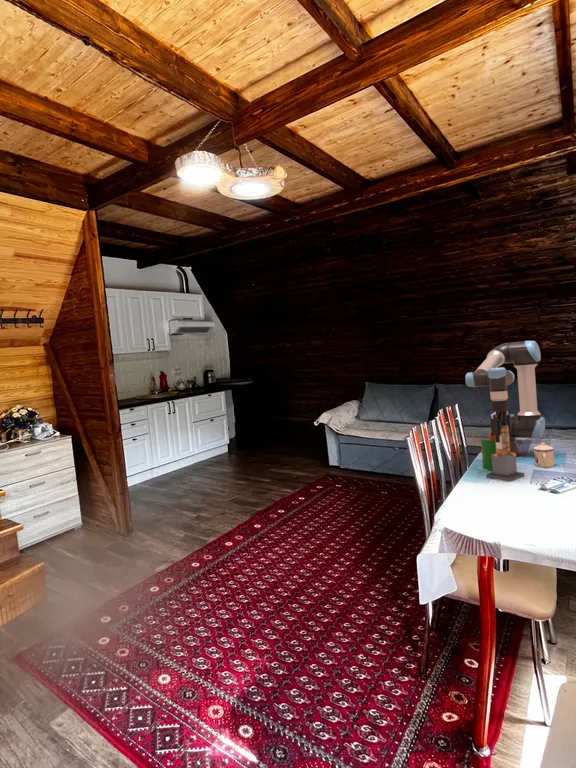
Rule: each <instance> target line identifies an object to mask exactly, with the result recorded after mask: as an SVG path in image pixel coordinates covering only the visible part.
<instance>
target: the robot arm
mask: <svg viewBox="0 0 576 768" xmlns="http://www.w3.org/2000/svg"><path fill="white" fill-rule="evenodd" d="M541 356H542V355H541V350H540V346H539V345H538V343H537V342H536V341H535V340H524V341H523V340H522V341H514V342H506V343H502V344H500V345H499V344H498V345H497V346H495V347H494V348H492V349H490V351H489V352H488V353H487V355H486V359H484V360H483V362H482V363H481V364H480V365H479V366H478V367H477V368H476V370H474V372H472V371H471V372H467V373H466V374H465V377H464V378H465V380H464V381H465V385H466V386H467V387H469V388H471V387H472V388H478V387H489V395H490V408H491V409H493V411H492V413H491V414H489V418H490V427H491V430H490V431H492V435H494V440H496V449H503V448H502V435H500V432H501V425H507V426H508V429H509V441H510V452H513V453H516V457H519V456H521V449H520V448H519V446H518V443H517V438H525V439H527V438H528V439H540V438H542V437H543V436H544V433H545V430H546V418H545V417H543V416H542V414H541V412H540V411H539V410H538V400H537V385H536V384H537V383H536V370H535V369H536V367H537V366H538V362H540V361H541V358H542V357H541ZM503 364H513V367H514V368H515V369H516V371H517V373H516V374H517V384H518V385H517V386H518V399H519V401H518V402H519V411H518V413H517V414H516V416H515V414H511V413H512V412H511V410H507V409H508V408H509V400H508V399H509V394H508V386H510V385H511V384H513V382H514V381H515V378H516V377H515V374H514V372H513V371H511V370H507V369H506V368H505V367H504V366H503V367H500V366H502V365H503Z"/></svg>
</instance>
